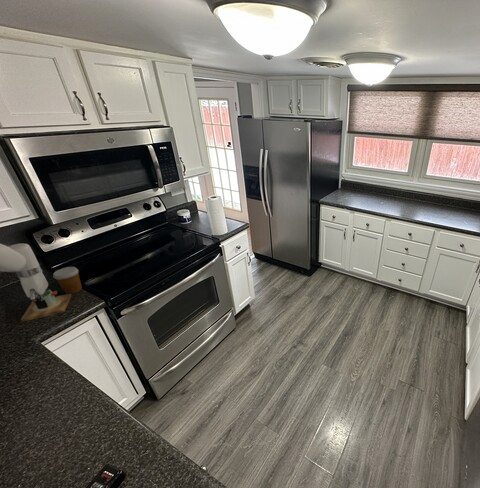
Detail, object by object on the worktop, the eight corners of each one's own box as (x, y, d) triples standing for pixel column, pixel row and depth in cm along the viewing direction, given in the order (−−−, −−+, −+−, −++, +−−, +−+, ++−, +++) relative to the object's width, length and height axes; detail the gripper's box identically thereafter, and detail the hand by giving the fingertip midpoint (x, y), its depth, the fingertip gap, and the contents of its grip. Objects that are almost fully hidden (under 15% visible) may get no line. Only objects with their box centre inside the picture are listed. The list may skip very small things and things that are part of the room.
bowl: (29, 314, 118) (23, 303, 115) (37, 302, 126) (31, 291, 123) (58, 307, 123) (52, 297, 120) (64, 296, 130) (59, 286, 127)
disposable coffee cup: (65, 298, 131) (55, 278, 126) (59, 292, 136) (49, 272, 131) (89, 289, 139) (80, 270, 133) (82, 283, 143) (73, 264, 138)
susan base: (22, 321, 116) (20, 319, 115) (33, 304, 127) (32, 301, 126) (64, 312, 123) (62, 309, 122) (71, 295, 133) (70, 293, 133)
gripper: (24, 264, 121) (41, 295, 129) (8, 282, 107) (28, 316, 115) (46, 260, 124) (62, 291, 132) (33, 278, 111) (51, 311, 119)
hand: (46, 302), depth 123 cm, fingers closed on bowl, 6 cm apart
